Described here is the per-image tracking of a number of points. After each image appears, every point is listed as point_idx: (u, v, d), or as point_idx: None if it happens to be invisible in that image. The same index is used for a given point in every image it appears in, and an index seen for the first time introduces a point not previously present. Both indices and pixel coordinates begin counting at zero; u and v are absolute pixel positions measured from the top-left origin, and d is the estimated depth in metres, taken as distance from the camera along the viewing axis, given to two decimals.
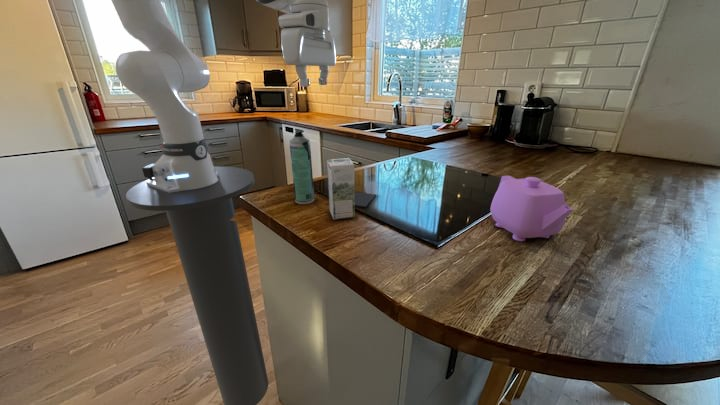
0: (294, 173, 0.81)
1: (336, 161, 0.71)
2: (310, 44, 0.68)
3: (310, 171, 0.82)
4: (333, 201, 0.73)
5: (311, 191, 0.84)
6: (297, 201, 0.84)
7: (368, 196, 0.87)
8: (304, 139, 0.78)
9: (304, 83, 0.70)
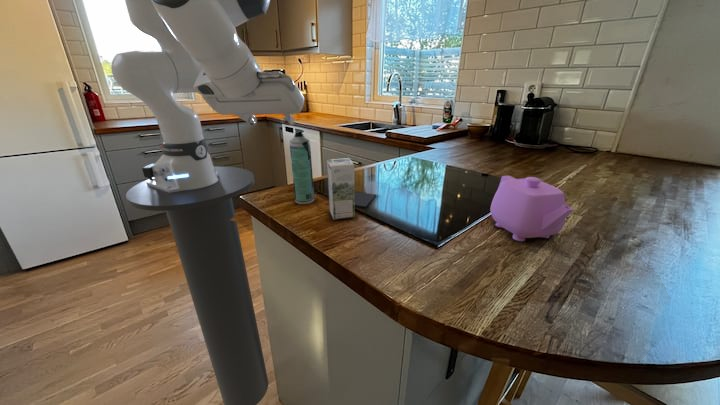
0: (294, 173, 0.81)
1: (336, 161, 0.71)
2: (233, 99, 0.59)
3: (310, 171, 0.82)
4: (333, 201, 0.73)
5: (311, 191, 0.84)
6: (297, 201, 0.84)
7: (368, 196, 0.87)
8: (304, 139, 0.78)
9: None
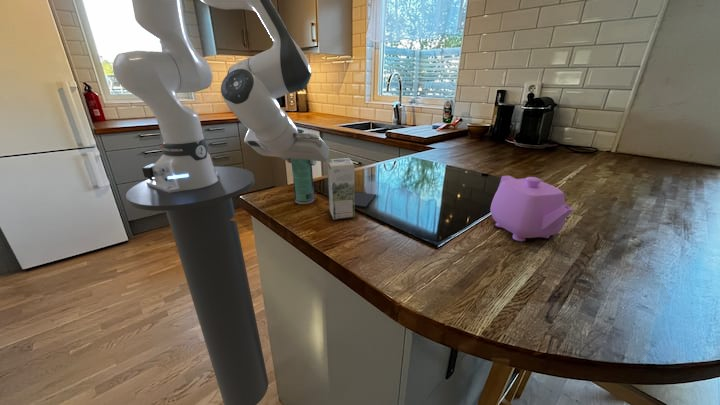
0: (294, 173, 0.81)
1: (336, 161, 0.71)
2: None
3: (310, 171, 0.82)
4: (333, 201, 0.73)
5: (311, 191, 0.84)
6: (297, 201, 0.84)
7: (368, 196, 0.87)
8: None
9: None
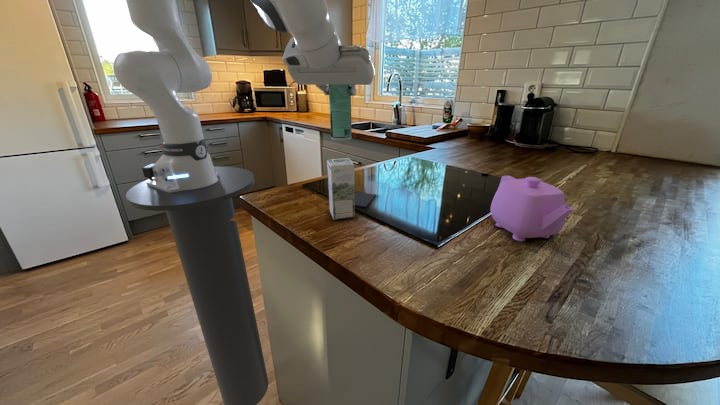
0: (332, 104, 0.74)
1: (336, 161, 0.71)
2: (313, 70, 0.68)
3: (350, 103, 0.75)
4: (333, 201, 0.73)
5: (349, 126, 0.77)
6: (334, 138, 0.77)
7: (368, 196, 0.87)
8: None
9: None
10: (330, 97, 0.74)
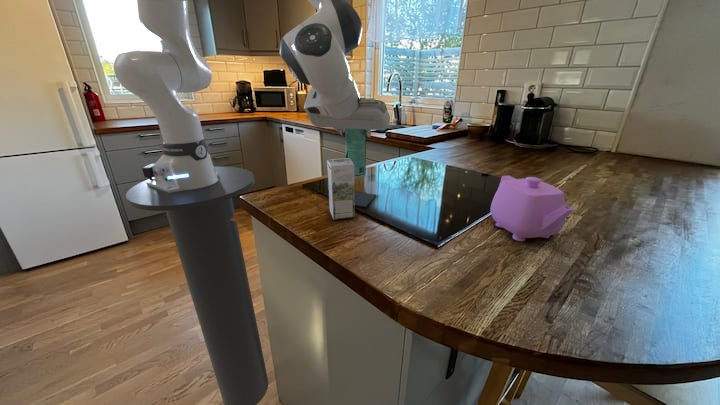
0: (348, 145, 0.78)
1: (336, 161, 0.71)
2: (331, 116, 0.72)
3: (365, 144, 0.79)
4: (333, 201, 0.73)
5: (364, 165, 0.81)
6: None
7: (368, 196, 0.87)
8: None
9: None
10: (346, 138, 0.78)
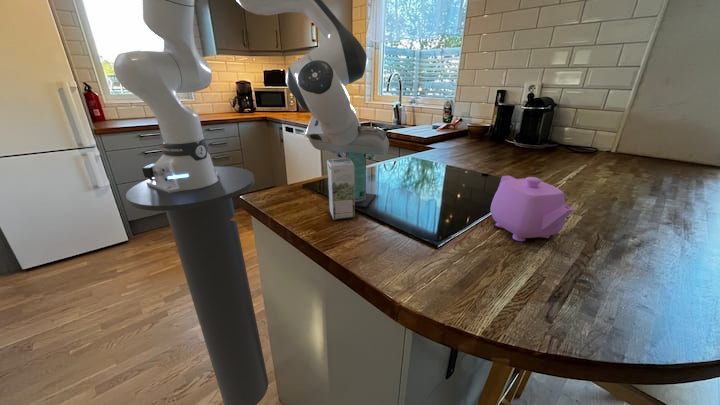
0: None
1: (336, 161, 0.71)
2: None
3: (365, 169, 0.82)
4: (333, 201, 0.73)
5: (364, 189, 0.84)
6: None
7: (368, 196, 0.87)
8: None
9: None
10: None
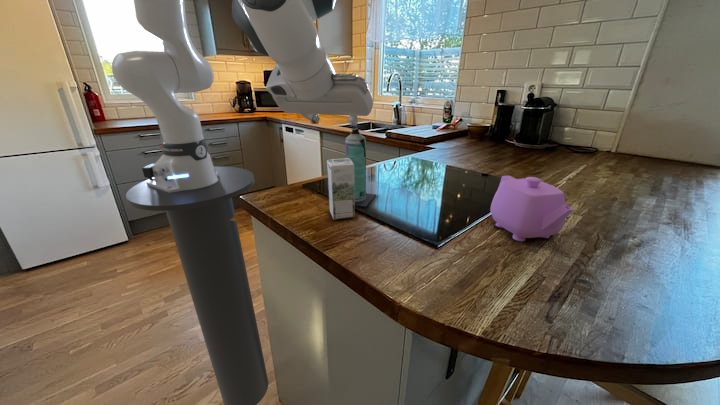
0: None
1: (336, 161, 0.71)
2: (302, 99, 0.59)
3: (365, 169, 0.82)
4: (333, 201, 0.73)
5: (364, 189, 0.84)
6: None
7: (368, 196, 0.87)
8: (361, 136, 0.78)
9: None
10: None
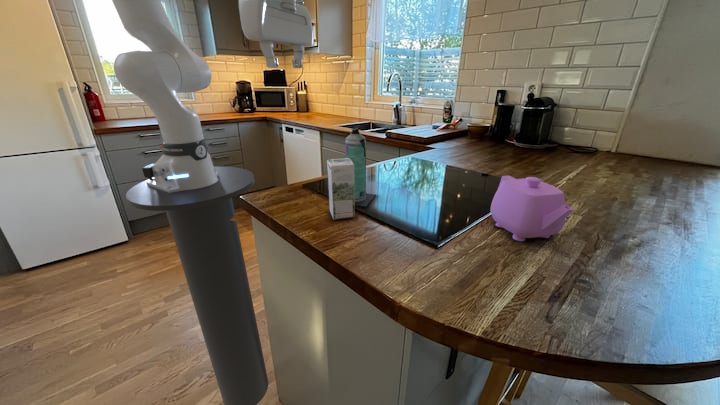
0: None
1: (336, 161, 0.71)
2: (277, 15, 0.56)
3: (365, 169, 0.82)
4: (333, 201, 0.73)
5: (364, 189, 0.84)
6: None
7: (368, 196, 0.87)
8: (361, 136, 0.78)
9: (271, 63, 0.58)
10: None
